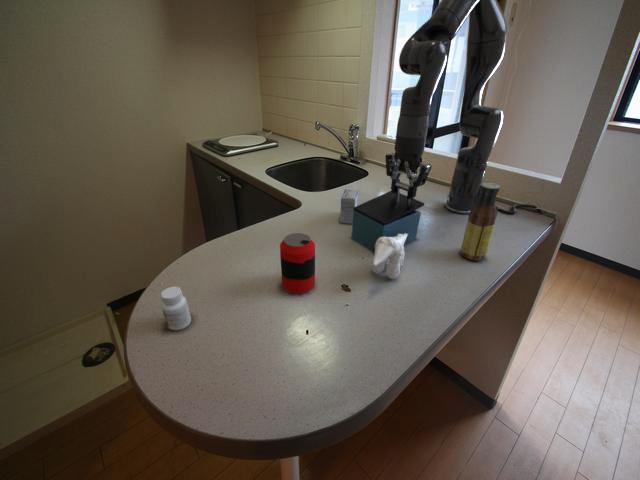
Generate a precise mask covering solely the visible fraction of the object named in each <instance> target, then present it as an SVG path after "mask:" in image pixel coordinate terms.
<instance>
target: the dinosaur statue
mask: <svg viewBox="0 0 640 480" xmlns="http://www.w3.org/2000/svg"><path fill="white" fill-rule="evenodd" d="M407 235H408V234H406V233H404V234H398V235H397V236H395V237H380V238H378V240H377V242H376V244H375V252H374V254H373V255H374V256H373V259H372V260H371V270H372V272H373V273H374V274H376V275H379V274H382V273H383V271H384V270H385V265H386V276H387V277H388V279H391V280H396V279H397V278H398V277H399V276H400V273H401V268H402V267H403V266H404V260H405V255H406V253H405V245H404V242H405V240H406V238H407Z"/></svg>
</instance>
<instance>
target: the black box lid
mask: <svg viewBox="0 0 640 480" xmlns="http://www.w3.org/2000/svg"><path fill="white" fill-rule="evenodd" d="M409 186H410V185H409V183H406V182H403V181H401V180H400V181H396V183H395V187H396V193H392V190H391V189H390V190H389V191H387V192H385V193H383V194H381V195H378V196H376V197H374V198H372V199H370V200H367V201H365V202H363V203H361V204H357V206H356V207H354V210H355V211H357V212H359V213H361V214H362V215H364V216H366V217H368V218H370V219H372V220H374V221H376V222H378V223H380V224H381V225H383V226H385V225H387V224H389V223H391V222H393V221H395V220H397V219H399V218H401V217H403V216H405V215H406V214H408V213H410V212H412V211H414V210H418V209H420V208H422V207H424V206H425V202H423V201H420V200H418V199H415V198H413V199H410V200H409V199H407V195H408V189H409ZM400 190H403V191H405V192H407V195H405V194H403V193H401V192H400Z"/></svg>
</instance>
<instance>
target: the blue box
mask: <svg viewBox="0 0 640 480" xmlns="http://www.w3.org/2000/svg"><path fill="white" fill-rule="evenodd" d="M421 214H422V212H421V211H419V210H418V209H416V210H414V211H412V212H410V213H408V214H406V215H405V216H403V217H401V218H399V219H397V220H395V221H393V222H391V223H389V224H387V225H385V226H383V225H381V224H380V223H378V222H376V221H374V220H372V219H370V218H368V217H366V216H364V215H362V214H361V213H359V212H357V211H355V210H354V212H353V224H352V228H351V239H353V240H355V241H356V242H357V243H360V244H361V245H363V246H364V247H366V248H367V249H369V250H371V251H373V252H374V253H375V244H376V242H377V240H378V238H380V237H395V236H397V235H398V234H404V233H406V234H408V235H407V238H406V240H405V242H404V246H405V245H406V244H409V243H411V242H413V241H416V240H417V235H418V229H419V225H420V220H421Z"/></svg>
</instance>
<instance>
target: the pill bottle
mask: <svg viewBox="0 0 640 480" xmlns="http://www.w3.org/2000/svg"><path fill="white" fill-rule="evenodd" d="M160 297H161V301H162V302H161V306H160V307H161V310H162V313H163V316H164V320H165V323H166V325H167V328H168V329H169V330H172V331H180V330H183V329H185V328H187V327H188V326H189V325H190V323H192V316H191V313H190V308H189V305H188V301H187V298H186V297H185V296H184V295H183V293H182V289H181V288H180V287H179V286H169V287H167V288H165V289H164V290H162V291H161V293H160Z"/></svg>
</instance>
